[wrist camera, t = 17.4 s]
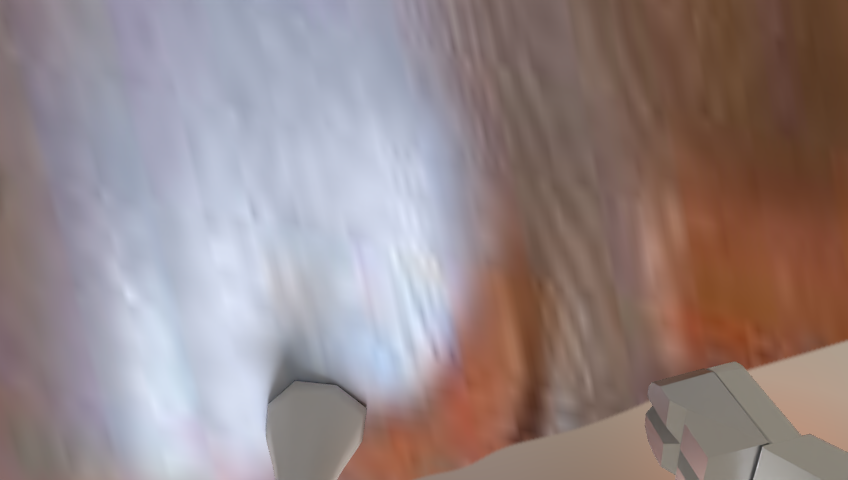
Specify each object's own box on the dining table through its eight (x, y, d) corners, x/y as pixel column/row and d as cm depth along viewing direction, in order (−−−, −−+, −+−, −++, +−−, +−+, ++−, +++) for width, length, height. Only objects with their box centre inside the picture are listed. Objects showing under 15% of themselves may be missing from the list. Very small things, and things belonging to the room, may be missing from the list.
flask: (288, 363, 43) (256, 473, 34) (384, 401, 45) (378, 516, 36) (250, 438, 46) (210, 559, 37) (342, 471, 47) (326, 595, 38)
